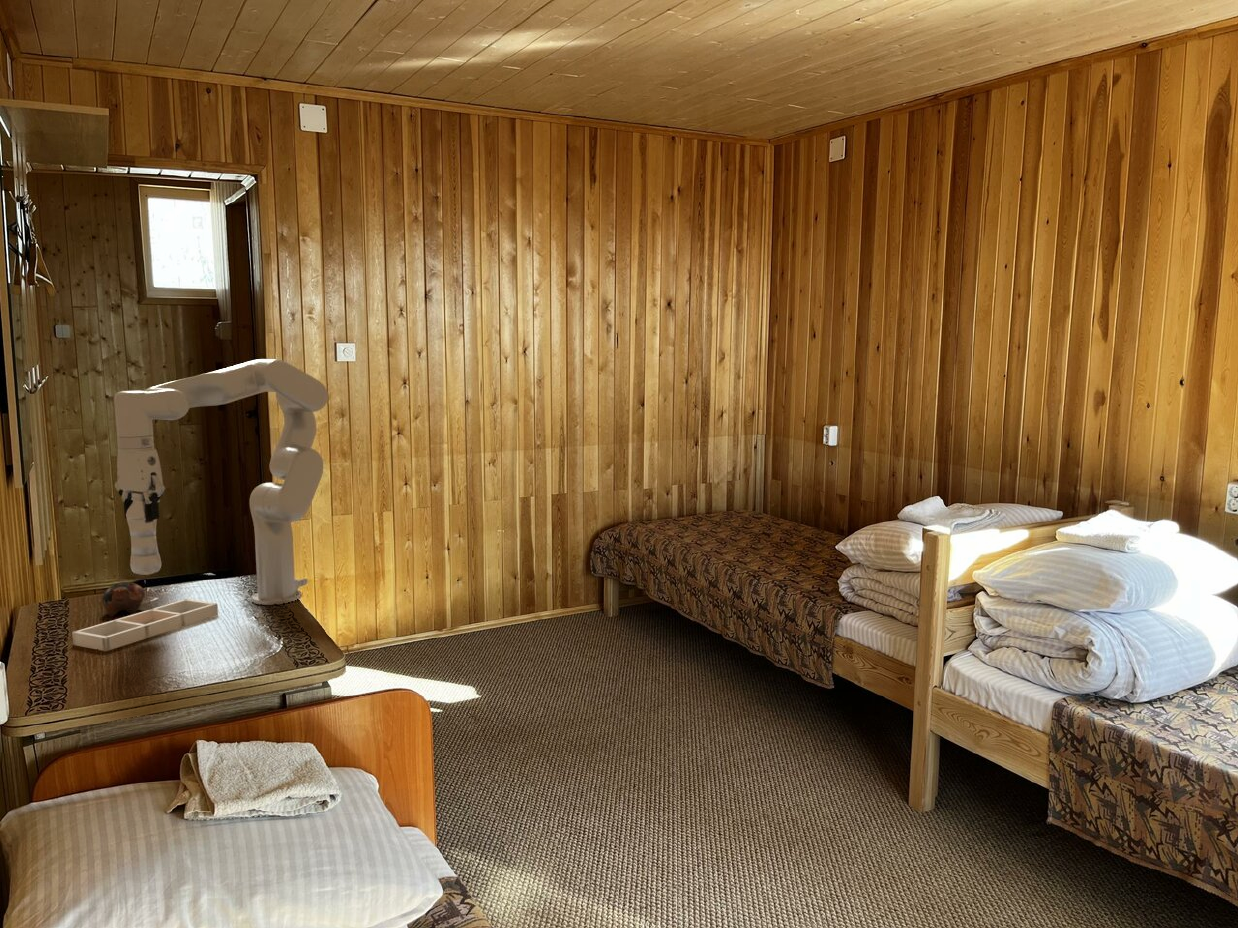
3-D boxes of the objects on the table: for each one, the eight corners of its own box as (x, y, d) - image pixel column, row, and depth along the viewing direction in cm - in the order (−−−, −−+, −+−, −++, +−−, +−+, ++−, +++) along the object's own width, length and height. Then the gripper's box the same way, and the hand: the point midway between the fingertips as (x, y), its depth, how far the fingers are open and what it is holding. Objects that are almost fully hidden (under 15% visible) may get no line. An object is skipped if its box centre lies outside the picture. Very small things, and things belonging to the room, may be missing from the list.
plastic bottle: (154, 577, 218) (147, 493, 215) (125, 577, 218) (118, 494, 215) (167, 570, 224) (161, 489, 222) (139, 570, 224) (132, 489, 222)
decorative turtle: (102, 622, 229) (98, 590, 228) (105, 611, 242) (101, 581, 241) (146, 615, 233) (142, 583, 232) (147, 604, 246) (143, 575, 246)
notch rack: (186, 610, 239) (186, 598, 238) (217, 615, 234) (217, 603, 234) (73, 644, 211) (72, 632, 210) (106, 651, 206) (105, 638, 206)
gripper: (175, 443, 217) (181, 518, 219) (124, 440, 224) (130, 513, 226) (147, 446, 210) (154, 524, 212) (96, 443, 217) (102, 519, 219)
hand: (142, 517), depth 219 cm, fingers closed on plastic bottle, 6 cm apart
